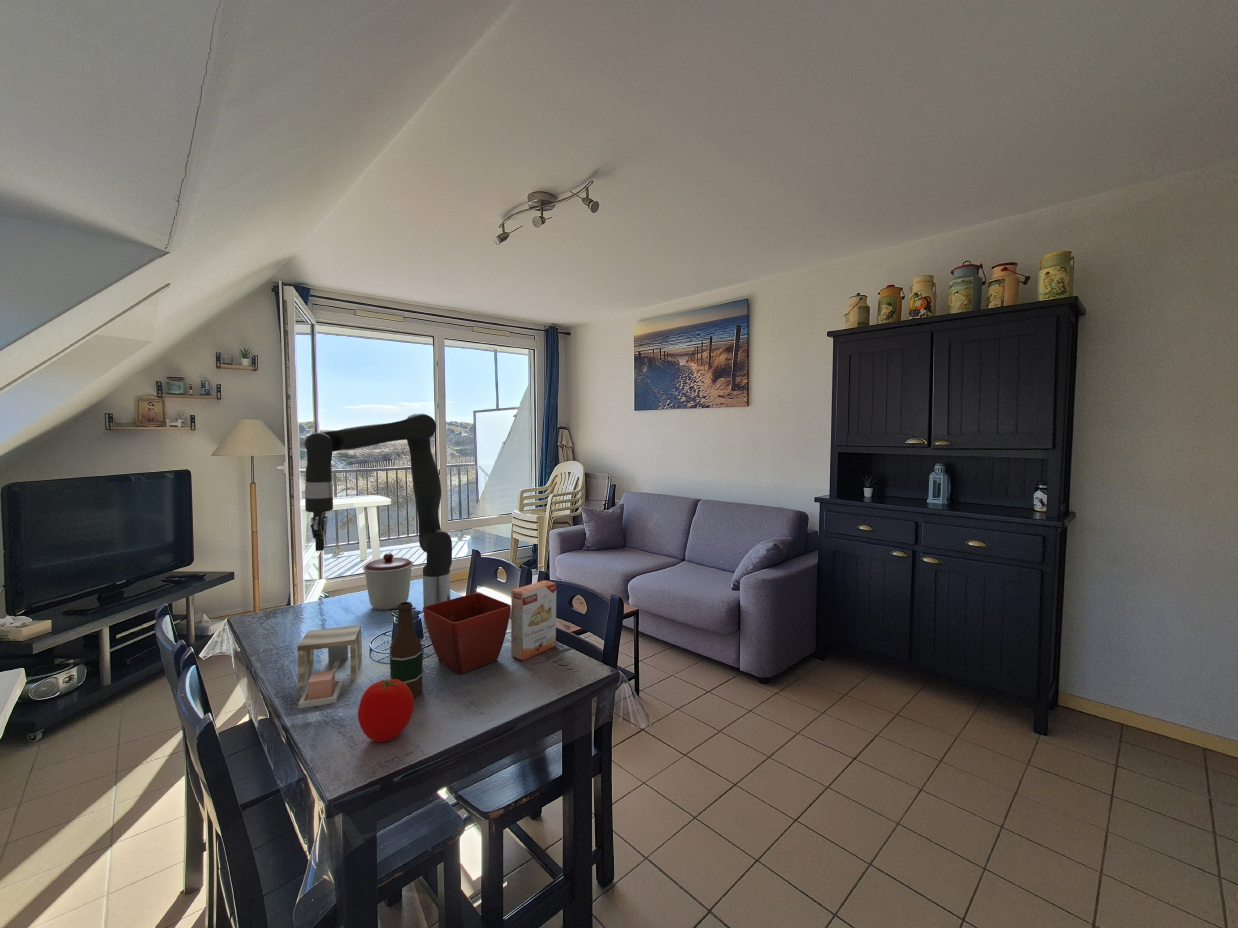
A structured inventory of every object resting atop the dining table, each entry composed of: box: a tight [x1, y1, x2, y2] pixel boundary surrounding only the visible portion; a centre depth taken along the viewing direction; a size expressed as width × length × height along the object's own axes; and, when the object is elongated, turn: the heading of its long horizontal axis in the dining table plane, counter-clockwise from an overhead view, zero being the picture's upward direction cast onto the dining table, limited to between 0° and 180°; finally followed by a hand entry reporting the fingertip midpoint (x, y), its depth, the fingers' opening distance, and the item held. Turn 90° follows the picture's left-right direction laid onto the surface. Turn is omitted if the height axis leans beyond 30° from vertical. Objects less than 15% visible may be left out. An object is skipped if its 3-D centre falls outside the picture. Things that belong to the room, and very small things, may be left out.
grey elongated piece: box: [297, 645, 349, 709], centre depth 134 cm, size 27×8×8 cm, turn 20°
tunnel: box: [296, 624, 363, 688], centre depth 137 cm, size 11×13×12 cm
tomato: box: [357, 678, 415, 743], centre depth 111 cm, size 11×11×13 cm
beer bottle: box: [389, 601, 423, 698], centre depth 130 cm, size 8×8×24 cm
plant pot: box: [422, 592, 511, 675], centre depth 148 cm, size 19×19×17 cm
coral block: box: [307, 669, 336, 700], centre depth 126 cm, size 5×5×5 cm
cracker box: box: [510, 580, 557, 662], centre depth 155 cm, size 14×6×21 cm, turn 141°
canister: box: [362, 552, 414, 611], centre depth 196 cm, size 18×18×21 cm
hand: (320, 550), depth 158 cm, fingers closed
